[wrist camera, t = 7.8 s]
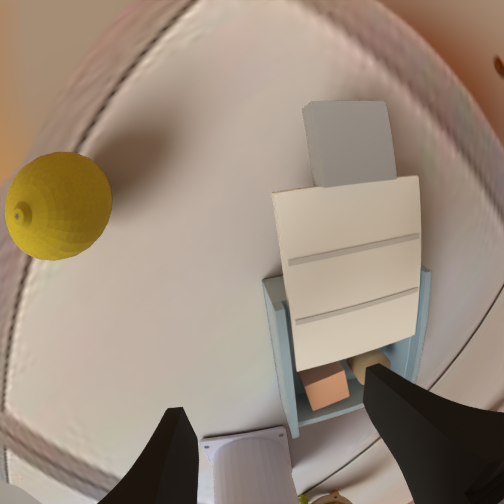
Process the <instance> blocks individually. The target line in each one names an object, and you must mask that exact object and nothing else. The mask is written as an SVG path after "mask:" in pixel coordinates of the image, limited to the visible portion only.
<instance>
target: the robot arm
mask: <svg viewBox="0 0 504 504" xmlns="http://www.w3.org/2000/svg"><path fill="white" fill-rule="evenodd" d="M363 404H364V406H365V408H366V411H367V413H368V415H369V417H370V419H371V421H372V423H373V425H374V426H375V428H376V429H377V431H378V433H379V434H380V436H381V437H382V439H383V440H384V442H385V444H386V445H387V447H388V448H389V450H390V451H391V453H392V454H393V456H394V458H395V459H396V461H397V463H398V465H399V467H400V469H401V471H402V473H403V476H404V478H405V480H406V482H407V485H408V487H409V490H410V492H411V495H412V497H413V500H414V503H415V504H504V412H494V411H488V410H482V409H478V408H473V407H469V406H466V405H462V404H459V403H456V402H453V401H450V400H448V399H445V398H443V397H440V396H438V395H436V394H434V393H432V392H429V391H427V390H425V389H423V388H421V387H420V386H418V385H416V384H414V383H412V382H410V381H409V380H407V379H405V378H404V377H402V376H400V375H398V374H397V373H395V372H393V371H392V370H390V369H389V368H387V367H385V366H384V365H382V364H380V363H377V364H374V365H372V366H369V367H366V371H365V382H364V393H363ZM200 445H201V447H202V449H203V451H204V453H205V455H206V456H207V458H208V460H209V462H210V464H211V466H212V467H213V479H214V499H215V504H300V503H299V500H298V496H297V492H296V489H295V485H294V481H293V478H292V474H291V473H292V466H291V459H290V453H289V446H288V439H287V433H286V428H285V427H283V426H280V427H275V428H270V429H265V430H260V431H254V432H249V433H243V434H236V435H229V436H222V437H214V438H205V439H201V440H200ZM198 470H199V452H198V439H197V436H196V434H195V432H194V430H193V428H192V426H191V424H190V422H189V420H188V417H187V415H186V413H185V411H184V409H183V407H176V408H168V409H167V410H166V411H165V413H164V415H163V417H162V419H161V421H160V423H159V424H158V426H157V428H156V430H155V432H154V433H153V435H152V437H151V438H150V440H149V442H148V443H147V445H146V447H145V448H144V450H143V451H142V453H141V454H140V456H139V457H138V459H137V460H136V462H135V463H134V465H133V466H132V467H131V469H130V470H129V471H128V472H127V474H126V475H125V476H124V477H123V478H122V480H121V481H120V482H119V483H118V484H117V485H116V486H115V487H114V488H113V489H112V490H111V491H110V492H109V493H108V494H107V495H106V496H105V497H104V498H103V499H102V500H101V501H100V502H98V503H97V504H197V490H198Z"/></svg>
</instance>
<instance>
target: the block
mask: <svg viewBox="0 0 504 504" xmlns="http://www.w3.org/2000/svg"><path fill="white" fill-rule="evenodd" d="M298 374H299V376H300V379H301V382H302V385H303V388H304V390H305V393H306V395H307V398H308V400H309V403H310V405H311V408H312V410H313V411H315V410H318V409H321V408H323V407H326V406H328V405H330V404H333V403H335V402H338V401H340V400H342V399H345V398H347V397H349V396H350V395H349V390H348V385H347V380H346V376H345V371H344V369H343V367H342V366H341V364H340V362H339V361H335V362H332V363H328V364H325V365H321V366H317V367H313V368H310V369H306V370H302V371H298Z"/></svg>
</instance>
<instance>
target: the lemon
mask: <svg viewBox="0 0 504 504" xmlns="http://www.w3.org/2000/svg"><path fill="white" fill-rule="evenodd" d="M111 210H112V194H111V187H110V185H109V182H108V180H107V177H106V175H105V174H104V173H103V171H102V170H101V168H100V167H99V166H98V165H97V164H96V163H94V162H93V161H92V160H91V159H89V158H87V157H85V156H82V155H80V154H77V153H73V152H55V153H51V154H47V155H44V156H41V157H38V158H36V159H35V160H33V161H32V162H30V163H29V164H27V165H26V166H25V167H23V168H22V169H21V171H20V172H19V173H18V174H17V175H16V177H15V178H14V180H13V182H12V184H11V186H10V187H9V190H8V194H7V197H6V203H5V218H6V223H7V227H8V230H9V233H10V235H11V237H12V239H13V240H14V242H15V243H16V244H17V245H18V247H19V248H20V249H21V250H23V251H24V252H25V253H27V254H28V255H30V256H32V257H35V258H37V259H41V260H54V261H55V260H62V259H65V258H69V257H73V256H76V255H78V254H79V253H81V252H83V251H84V250H86V249H87V248H89V247H90V246H91V245H92V244H93V243H94V242H95V241H96V240H97V239H98V238H99V237H100V236H101V234H102V233H103V231H104V229H105V227H106V225H107V223H108V221H109V217H110V214H111Z"/></svg>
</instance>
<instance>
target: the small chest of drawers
mask: <svg viewBox="0 0 504 504" xmlns="http://www.w3.org/2000/svg"><path fill="white" fill-rule="evenodd" d="M302 113H303V119H304V124H305V130H306V136H307V142H308V148H309V155H310V161H311V168H312V175H313V182H314V186H312V187H305V188H298V189H291V190H284V191H278V192H272V193H271V194H272V200H273V207H274V214H275V220H276V227H277V234H278V241H279V248H280V255H281V263H282V270H283V277H284V285H285V293H286V301H287V308H288V317H289V325H290V333H291V342H292V350H293V359H294V366H295V368H296V371H297V372H298V371H302V370H306V369H310V368H313V367H317V366H321V365H325V364H328V363H332V362H335V361H339V360H342V359H346V358H349V357H352V356H355V355H359V354H362V353H365V352H368V351H371V350H374V349H377V348H380V347H383V346H386V345H389V344H391V343H394V342H397V341H400V340H402V339H405V338H408V337H410V336H413V335H415V330H416V322H417V312H418V302H419V289H420V271H421V207H420V190H419V177H418V176H416V175H408V176H397V173H396V164H395V156H394V148H393V141H392V134H391V128H390V122H389V116H388V111H387V106H386V101H313V102H310V103H309V104H308V105H306V106H305V107H303V108H302Z"/></svg>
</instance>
